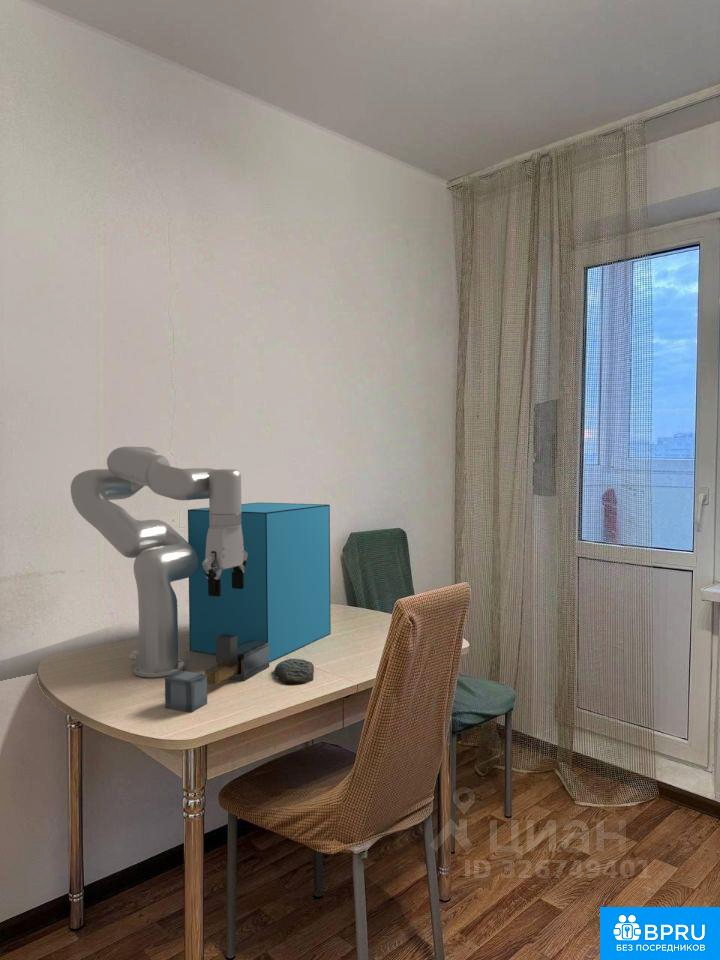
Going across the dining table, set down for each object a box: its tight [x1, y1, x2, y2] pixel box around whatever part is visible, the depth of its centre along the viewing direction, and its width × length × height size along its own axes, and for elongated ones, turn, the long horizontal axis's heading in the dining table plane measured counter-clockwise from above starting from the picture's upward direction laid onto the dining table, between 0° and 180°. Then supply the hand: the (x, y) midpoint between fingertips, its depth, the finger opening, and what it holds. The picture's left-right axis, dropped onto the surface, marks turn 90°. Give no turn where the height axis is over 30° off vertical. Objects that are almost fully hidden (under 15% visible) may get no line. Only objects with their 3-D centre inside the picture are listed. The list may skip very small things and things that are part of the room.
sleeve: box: [226, 640, 270, 682], centre depth 170 cm, size 6×12×6 cm, turn 157°
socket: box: [164, 670, 208, 713], centre depth 147 cm, size 7×6×6 cm
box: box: [187, 502, 332, 664], centre depth 197 cm, size 27×33×40 cm
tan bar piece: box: [204, 634, 241, 685], centre depth 165 cm, size 4×22×9 cm, turn 157°
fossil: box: [273, 658, 315, 686], centre depth 167 cm, size 10×13×4 cm
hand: (226, 592), depth 161 cm, fingers open, 9 cm apart
